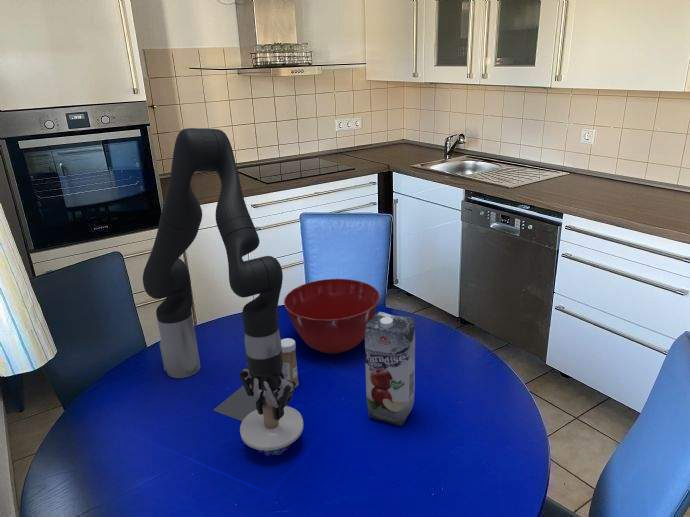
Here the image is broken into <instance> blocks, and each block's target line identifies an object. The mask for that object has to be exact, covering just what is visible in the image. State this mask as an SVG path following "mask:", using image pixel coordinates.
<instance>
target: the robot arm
mask: <svg viewBox="0 0 690 517" xmlns="http://www.w3.org/2000/svg"><path fill="white" fill-rule="evenodd" d="M231 144H232V143H231V142H230V140H229V137H228V136H227V134H226V133H225V131H223V130H222V129H219V128H202V127H201V128H197V127H189V128H183V129H182V130H180V131H179V133H178V134H177V136H176V139H175V142H174V148H173V152H172V160H171V168H170V176H169V181H168V182H169V183H168V187H167V191H166V194H165V198H164V199H165V200H164V203H163V206H162V210H161V214H160V218H159V221H158V227H157V232H156V235H155V239H154V243H153V246H152V249H151V251H150V254H149V257H148V259H147V261H146V264H145V267H144V269H143V272H142V273H143V274H142V286H143V290H144V291H145V293H146V294H147V295H148V297H150V298H152V299H155V300H159V299H164V300H163V301H162V302H160V303H159V305H158V306H157V307H156V311H155V314H156V321H157V326H158V329H159V330H158V331H159V337H160V341H159V348H160V354H161V358H162V363H163V370H164V371H165V372H166V374H167V376H169V377H170V378H172V379H173V378H174V379H184V378H189V377H191V376H193V375H196V374H197V373H198V372H199V371H200V369H201V362H200V355H199V349H198V343H197V335H196V329H195V323H194V318H193V311H192V309H193V294H192V284H191V282H192V281H191V276H190V271H189V268H188V266H187V265H186V263H185V262H184V261H183V260H182V258H180V257H182V255H183V254H184V253H185V252H186V251H187V250H188V248H189V247H190V246H191V245H192V244H193V242H194V240H195V239H196V238H197V234H198V232H199V229H200V226H201V223H202V220H203V210H202V207H201V204H200V202H199V200H198V197H197V196H196V195H195V193H194V191H193V189H192V178H193V175H194V174H195V173H202V172H203V173H206V172H211V173H212V172H216V173H217V175H218V177H219V180H220V191H219V197H218V198H217V199H218V200H217V203H216V207H215V215H214V216H215V223H216V226H217V229H218V232H219V235H220V237H221V240H222V242H223V245H224V248H225V252H226V255H227V256H226V258H227V264H228V281H229V282H228V283H229V286H230V290H231V291H232V292H233V293H234V294H235V295H236V296H237V297H239V298H243V299H244V298H248V297H252V296H256V295H258V296H257V297H255V298H254V299H252V300H251V301H249V302H247V303H245V305H244V306H243V308H242V321H243V322H242V323H243V328H244V329H243V330H244V349H245V357H246V365H247V366H246V367H244V369H242V370H241V371H240V372H239V373H238V375H239V377H240V380H241V382H242V386H243V385H244V388H245V390H246V393H247V395H248V396H253V397H254V400H255V401H256V409H257V411H258V414H260V415H262V414H263V408H262V406H263V404H264V403H266V399H265V396H263V395H264V394H265V391H267V392H268V395H269V398H270V399H272V402H273V405H274V407H273V410H274V419H275V420H277V421H278V420H279V419H280V418H282V417H283V416H284V407H285V406H288V404H289V403H291V401H292V398H293V394H294V391H295V385H296V384H295V382H294V381H291V382H288V381H287V380H285V379H284V375H283V373H282V367H283V358H282V347H281V340H282V338H281V333H280V328H279V318H278V306H279V300H280V295H281V291H282V290H281V289H282V286H283V280H284V275H283V269H282V266H281V264H280V262H279V260H278V259H277V258H276V257H274V256H271V255H265V256H260V257H257V258H256V257H255V258H251V259H248V260H243V259H244V258H243V257H245V256H246V255H248V254H251V253H252V252H253V251H255V250H256V249H258V247H259V245H260V237H259V234H258V232H257V229H256V227H255V224H254V221H253V220H252V217H251V215H250V212H249V210H248V207H247V204H246V201H245V198H244V194H243V189H242V185H241V180H240V175H239V171H238V167H237V162H236V159H235V155H234V154H235V153H234V150H233V147H232V145H231ZM250 384H251V387H252V388H251V389H250ZM282 392H283V394H282ZM277 396H278V399H277Z"/></svg>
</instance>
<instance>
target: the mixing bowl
mask: <svg viewBox="0 0 690 517" xmlns="http://www.w3.org/2000/svg"><path fill="white" fill-rule="evenodd" d="M380 296H381V295H380V292H379V290H378V289H376V287H375V286H373V285H371V284H369V283H367V282H364V281H360V280H355V279H347V278H329V279H326V278H325V279H321V280H314V281H310V282H307V283H304V284H301V285H299V286H297V287H295V288H293V289H291V291H290V292H288V293H287V294H286V296H285V297H284V299H283V305H284V308H285V309H286V310H287V313H288V316H289V318H290V321H291V324H292V325H293V327H294V329H295V330H296V332H297V333H298V335H299V337H300V338H301V339H302V340H303V342H304V343H305V344H306V345H307V346H308V347H309V348H312V349H314V350H315V351H319V352H321V353H322V354H323V353H325V354H341V353H344V352H348V351H351V350H352V349H354V348H355V347H357V346H358V345H359V344H361V343H362V341H363V340H365V325H366V324H367V323H368V322H369V321H370V320H371V319H372V318H373V317H374V316H375V314H376V313H377V312H376V311H377V308H378V304H379V301H380V298H381V297H380Z"/></svg>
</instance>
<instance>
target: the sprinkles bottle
mask: <svg viewBox="0 0 690 517" xmlns="http://www.w3.org/2000/svg"><path fill="white" fill-rule="evenodd" d="M296 346H297V344H296V340H294V339H293V338H289V337H287V338H283V339H282V338H281V347H282V358H283V367H282V373H283V375H284V379H285V380H287V381H288V382H291V381H294V382H295V384H296V385H295V388H297V387H298V386H299V378H298V364H297V355H296ZM295 388H294V389H295Z"/></svg>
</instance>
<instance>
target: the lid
mask: <svg viewBox="0 0 690 517" xmlns="http://www.w3.org/2000/svg"><path fill="white" fill-rule="evenodd" d="M273 407H274V405H273V402H272V401H269V402H266V403H264V404H263V406H262V408H263V414H262V415H260V414H258V411H257V409H256V410H254V411H253V412H251V413H250V414H248V415H247V416H246V417H245V418H244V420H243V421H241V424H240V427H239V432H240V433H239V434H240V436H241V437H240V438H241V440H242V441H243V442H244V444H245V445H246V446H248V447H249V448H252V449H255V450H257V451H258V450H276V449H280V448H283V447H286V446H288V445H290V446H291V444H293V443H294V442H296V440H298V439H299V438H300V436H301V435H302V433H303V430H304V420H303V416H302V414H301V412H299V411H298V410H297V409H296V408H293V407H291V406H288V405H286V406H285V407H284V416H283V417H282V418H280V419H279V420H278V421H277V420H275V419H274V410H273Z"/></svg>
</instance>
